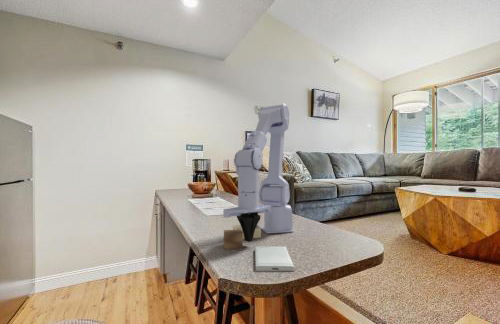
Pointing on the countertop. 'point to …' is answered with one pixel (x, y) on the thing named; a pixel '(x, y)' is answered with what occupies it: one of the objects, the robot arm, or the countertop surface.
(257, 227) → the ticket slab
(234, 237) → the stub block
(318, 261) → the countertop surface
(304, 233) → the countertop surface
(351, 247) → the countertop surface
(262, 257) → the hard drive
